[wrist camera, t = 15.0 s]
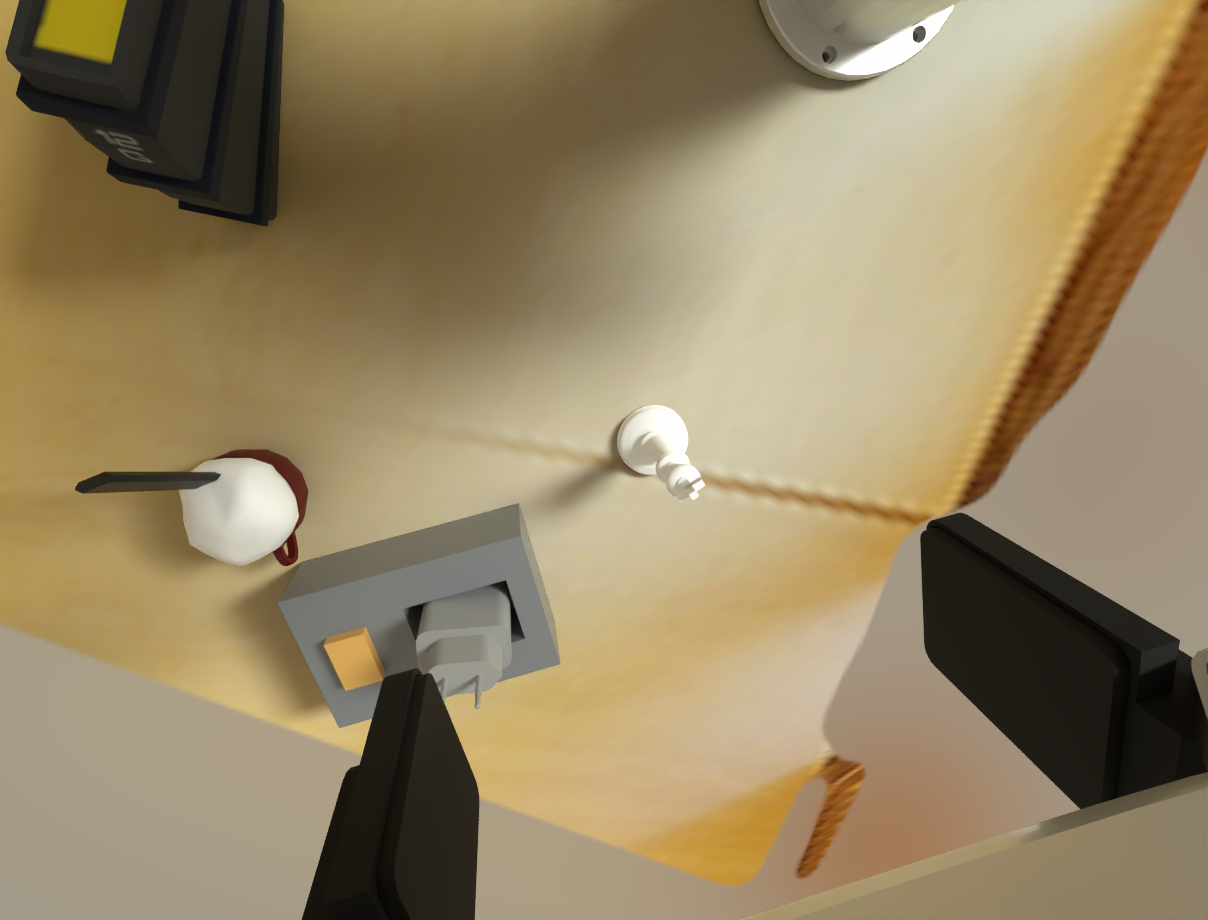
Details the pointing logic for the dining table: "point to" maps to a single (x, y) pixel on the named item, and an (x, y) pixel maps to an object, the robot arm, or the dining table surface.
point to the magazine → (164, 92)
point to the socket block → (411, 604)
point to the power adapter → (466, 640)
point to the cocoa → (228, 503)
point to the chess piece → (659, 449)
